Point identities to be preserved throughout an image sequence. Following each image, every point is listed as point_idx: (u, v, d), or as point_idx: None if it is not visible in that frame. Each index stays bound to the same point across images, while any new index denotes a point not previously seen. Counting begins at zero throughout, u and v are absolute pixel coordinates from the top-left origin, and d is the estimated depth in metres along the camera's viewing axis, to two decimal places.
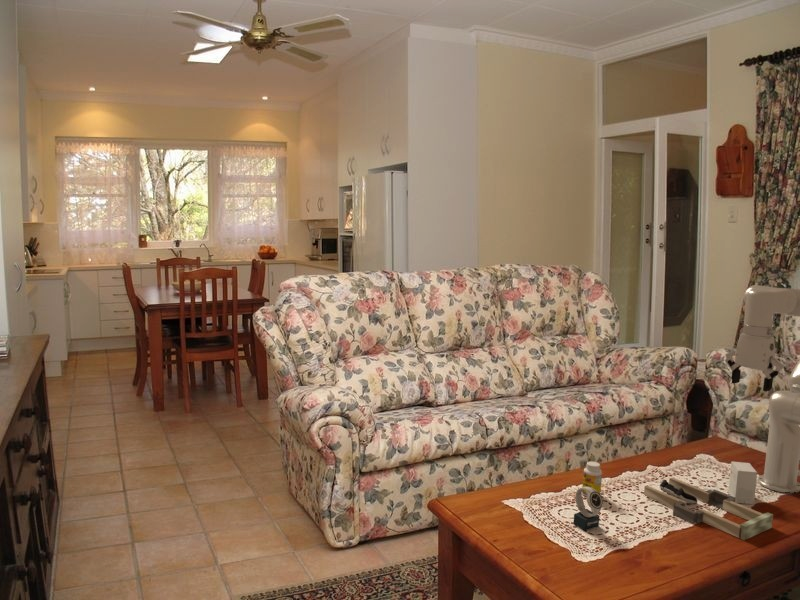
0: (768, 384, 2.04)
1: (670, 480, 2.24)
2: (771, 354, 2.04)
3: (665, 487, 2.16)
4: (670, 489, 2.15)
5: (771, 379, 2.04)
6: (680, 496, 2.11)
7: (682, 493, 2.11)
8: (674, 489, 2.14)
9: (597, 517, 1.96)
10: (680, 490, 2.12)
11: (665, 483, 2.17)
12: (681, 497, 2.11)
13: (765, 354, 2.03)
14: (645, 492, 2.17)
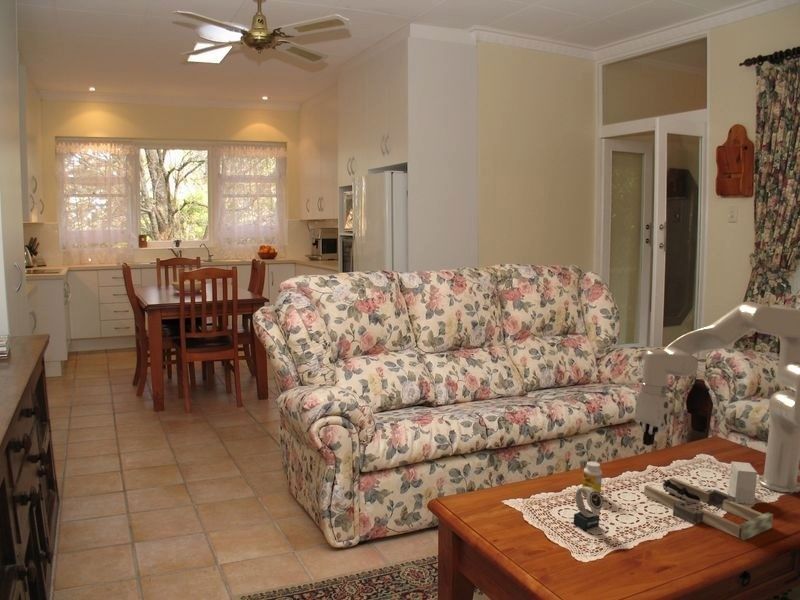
0: (650, 439, 2.21)
1: (670, 480, 2.24)
2: (665, 412, 2.17)
3: (668, 486, 2.17)
4: (673, 488, 2.15)
5: (653, 434, 2.21)
6: (683, 495, 2.12)
7: (685, 492, 2.12)
8: (677, 488, 2.14)
9: (597, 517, 1.96)
10: (683, 489, 2.12)
11: (668, 482, 2.18)
12: (684, 497, 2.12)
13: (659, 412, 2.17)
14: (645, 492, 2.17)
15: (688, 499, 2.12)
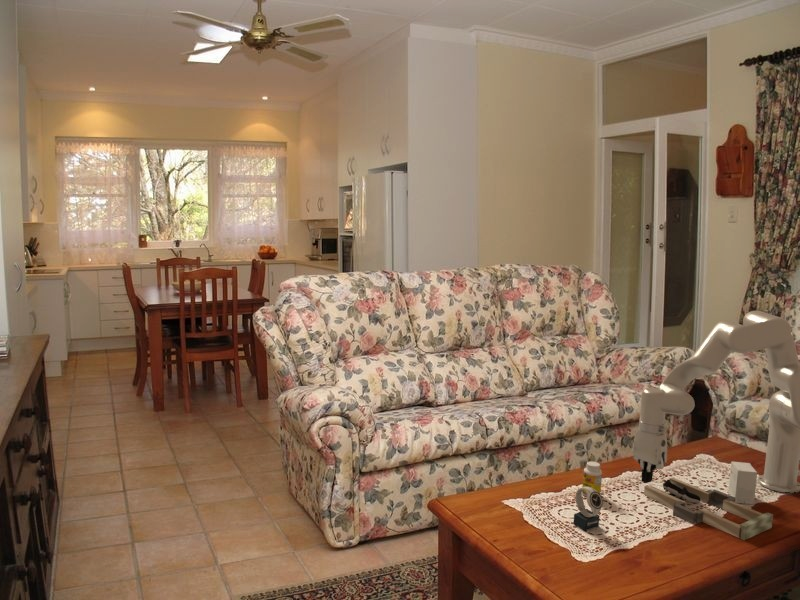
0: (648, 476, 2.23)
1: (670, 480, 2.24)
2: (663, 450, 2.19)
3: (668, 486, 2.17)
4: (674, 488, 2.15)
5: (651, 472, 2.23)
6: (684, 495, 2.12)
7: (686, 492, 2.12)
8: (678, 488, 2.14)
9: (597, 517, 1.96)
10: (684, 489, 2.12)
11: (668, 482, 2.18)
12: (685, 496, 2.12)
13: (657, 450, 2.19)
14: (645, 492, 2.17)
15: (689, 499, 2.12)
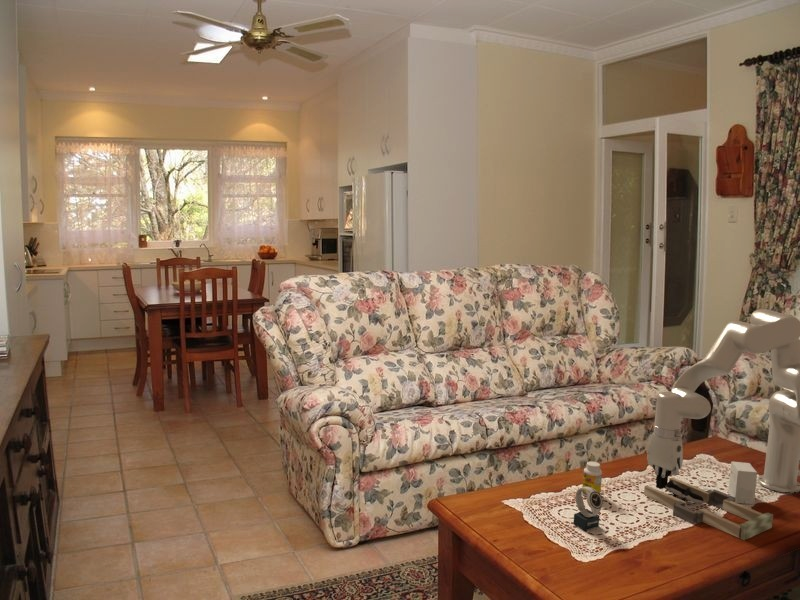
0: (663, 482, 2.19)
1: None
2: (678, 455, 2.14)
3: (671, 487, 2.16)
4: (677, 489, 2.14)
5: (666, 478, 2.19)
6: (688, 496, 2.11)
7: (689, 493, 2.11)
8: (681, 489, 2.13)
9: (597, 517, 1.96)
10: (687, 490, 2.12)
11: (671, 483, 2.17)
12: (688, 497, 2.11)
13: (672, 456, 2.14)
14: (645, 492, 2.17)
15: (692, 500, 2.11)
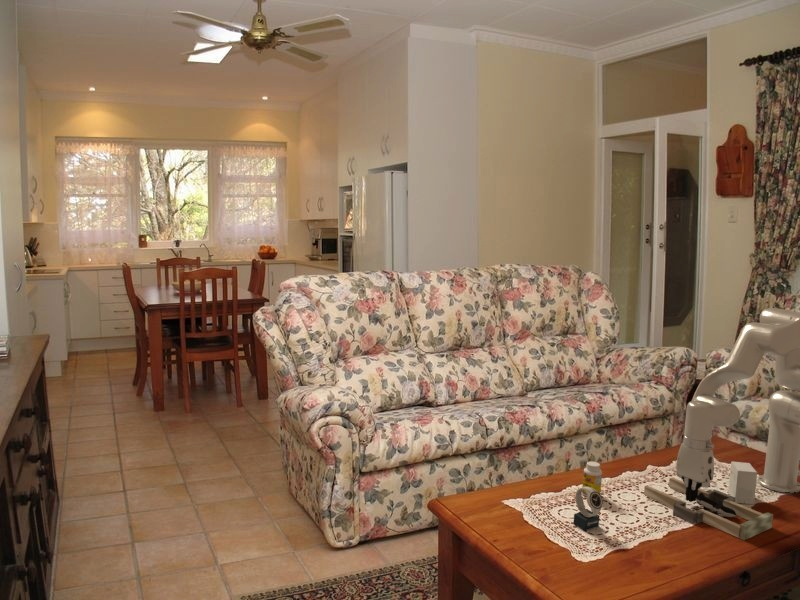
0: (693, 495, 2.10)
1: (670, 480, 2.24)
2: (710, 467, 2.06)
3: (702, 500, 2.07)
4: (708, 502, 2.06)
5: (696, 490, 2.10)
6: (719, 510, 2.02)
7: (721, 506, 2.02)
8: (712, 502, 2.05)
9: (597, 517, 1.96)
10: (719, 503, 2.03)
11: (702, 496, 2.08)
12: (720, 511, 2.02)
13: (703, 467, 2.05)
14: (645, 492, 2.17)
15: (724, 513, 2.03)
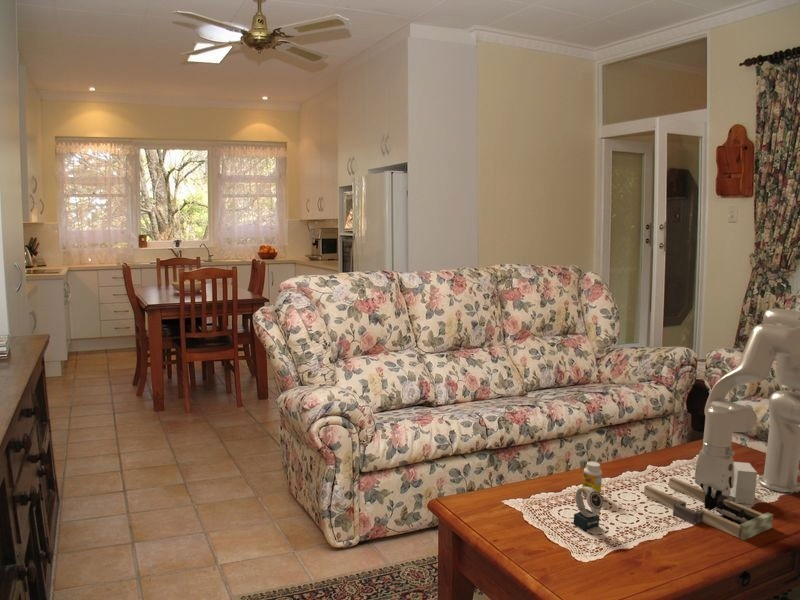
0: (712, 503, 2.05)
1: (670, 480, 2.24)
2: (730, 475, 2.01)
3: (723, 509, 2.02)
4: (730, 511, 2.01)
5: (715, 498, 2.05)
6: (743, 518, 1.98)
7: (744, 515, 1.98)
8: (734, 511, 2.00)
9: (597, 517, 1.96)
10: (742, 512, 1.98)
11: (722, 504, 2.03)
12: (744, 520, 1.98)
13: (724, 475, 2.00)
14: (645, 492, 2.17)
15: None
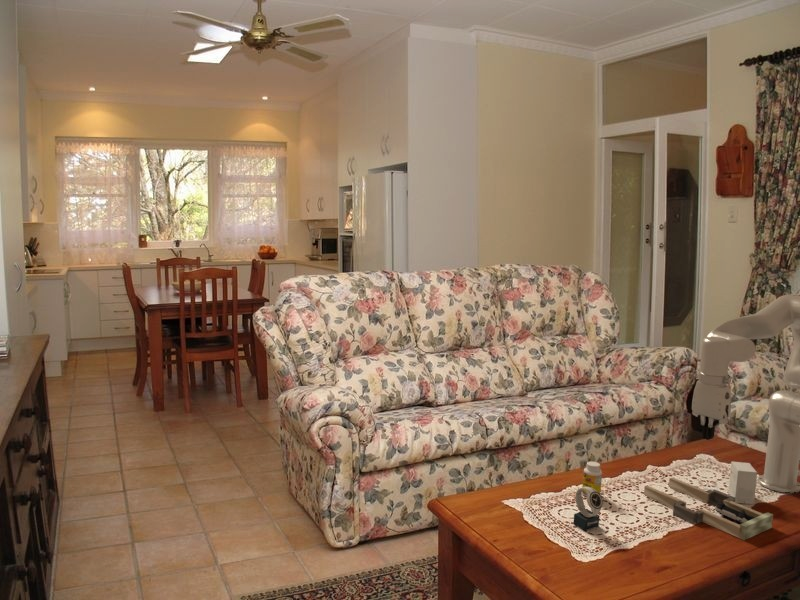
0: (710, 433, 2.07)
1: (670, 480, 2.24)
2: (727, 403, 2.02)
3: (723, 509, 2.02)
4: (730, 511, 2.01)
5: (713, 428, 2.07)
6: (743, 519, 1.97)
7: (745, 515, 1.98)
8: (734, 511, 2.00)
9: (597, 517, 1.96)
10: (742, 512, 1.98)
11: (722, 505, 2.03)
12: (744, 520, 1.98)
13: (720, 403, 2.02)
14: (645, 492, 2.17)
15: None
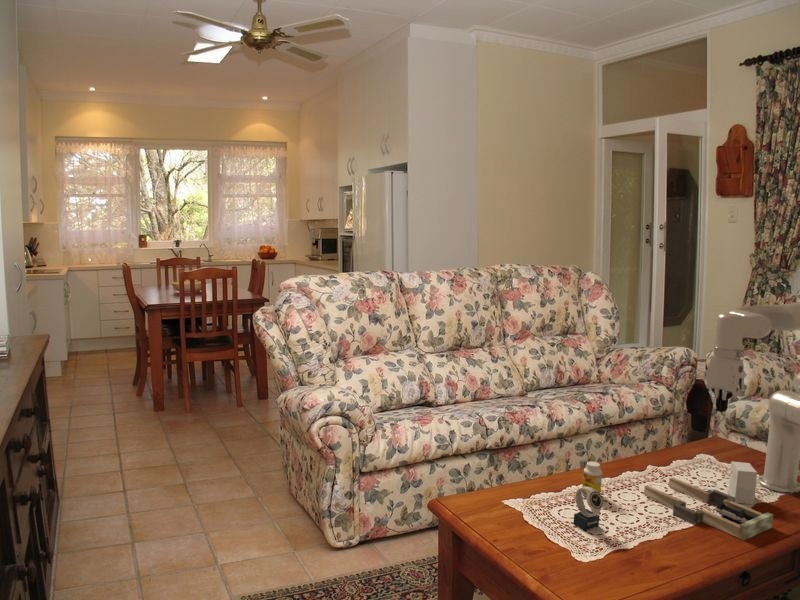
0: (723, 405, 2.15)
1: (670, 480, 2.24)
2: (740, 376, 2.11)
3: (723, 509, 2.02)
4: (730, 511, 2.01)
5: (726, 400, 2.15)
6: (743, 518, 1.98)
7: (745, 515, 1.98)
8: (734, 511, 2.00)
9: (597, 517, 1.96)
10: (742, 512, 1.98)
11: (722, 505, 2.03)
12: (744, 520, 1.98)
13: (734, 376, 2.11)
14: (645, 492, 2.17)
15: None
